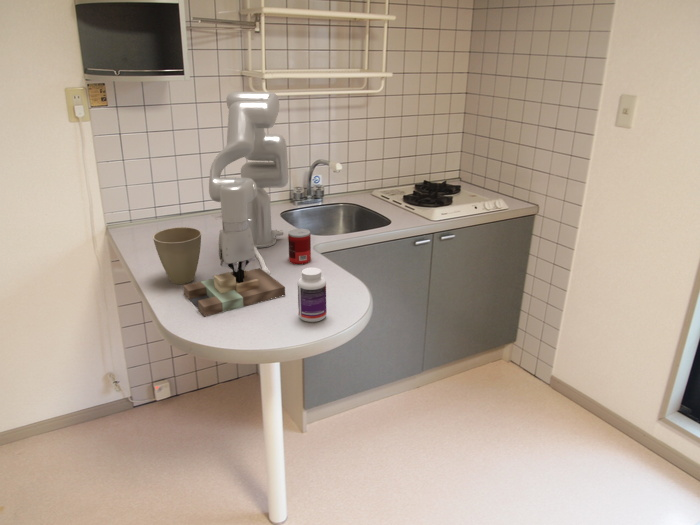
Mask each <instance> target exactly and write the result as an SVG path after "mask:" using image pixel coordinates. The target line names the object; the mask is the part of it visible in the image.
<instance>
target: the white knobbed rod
mask: <svg viewBox="0 0 700 525" xmlns="http://www.w3.org/2000/svg"><path fill="white" fill-rule="evenodd" d="M254 256H255V257H256V259H257V258H258V259H257V260H258V261H259V265H260V268H261V269H262V270H263V271H264V272H266V273H267V274H268V275H270V276H271V274H270V273H271V270H270V269H269V268H268V267H267V265H266V263H265V260H264V257H262V255H261V254H260V251H259V250H258V248H256V247H254Z"/></svg>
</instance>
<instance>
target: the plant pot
mask: <svg viewBox="0 0 700 525" xmlns="http://www.w3.org/2000/svg"><path fill="white" fill-rule="evenodd" d="M152 240H153V243H154V247H155V250H156V252H157V255H158V258H159V260H160V263H161V265H162V267H163V269H164V271H165V273H166V275H167V277H168V279H169V281H170V282H171V283H173V284H176V285H187V284H190V283H192V282H193V281H194V280H195V277H196V273H197V269H198V265H199V261H200V260H199V259H200V254H201V246H202V244H201V242H202V231H201V230H200V229H198V228H195V227H189V226H178V227H176V226H175V227H170V228H165V229H162V230H159V231H157V232H156V233H154V234H153V236H152Z"/></svg>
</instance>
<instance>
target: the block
mask: <svg viewBox="0 0 700 525" xmlns="http://www.w3.org/2000/svg"><path fill="white" fill-rule="evenodd" d="M213 278H214V284H215V288H216V289H217V290H218V291H219V292H220V293H224V292H229V291H233V290H236V277H234V276H233V275H232V274H231V273H230V272H229V271H228V272H224V273H220V274H215V275H213Z"/></svg>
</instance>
